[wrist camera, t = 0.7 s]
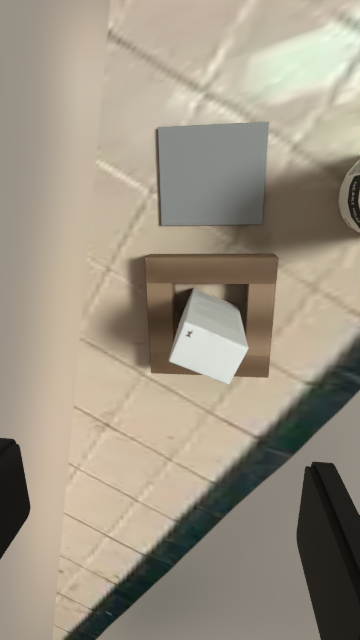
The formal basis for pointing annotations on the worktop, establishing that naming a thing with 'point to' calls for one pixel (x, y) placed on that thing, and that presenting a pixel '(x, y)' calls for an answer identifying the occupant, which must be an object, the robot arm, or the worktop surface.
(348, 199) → the supplement can
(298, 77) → the worktop surface
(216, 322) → the skincare box
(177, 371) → the holder block
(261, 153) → the rubber mat
